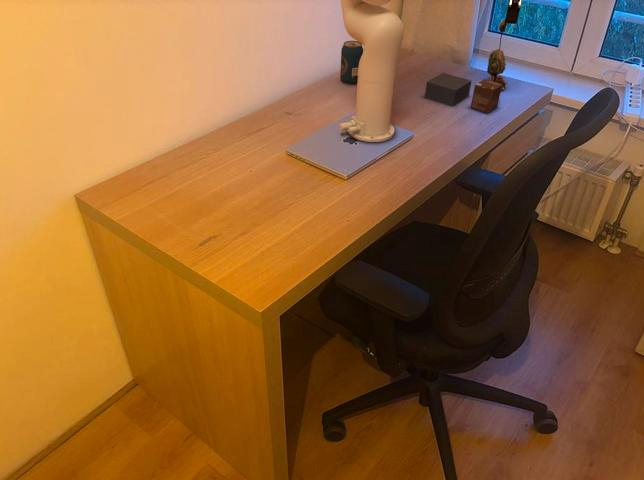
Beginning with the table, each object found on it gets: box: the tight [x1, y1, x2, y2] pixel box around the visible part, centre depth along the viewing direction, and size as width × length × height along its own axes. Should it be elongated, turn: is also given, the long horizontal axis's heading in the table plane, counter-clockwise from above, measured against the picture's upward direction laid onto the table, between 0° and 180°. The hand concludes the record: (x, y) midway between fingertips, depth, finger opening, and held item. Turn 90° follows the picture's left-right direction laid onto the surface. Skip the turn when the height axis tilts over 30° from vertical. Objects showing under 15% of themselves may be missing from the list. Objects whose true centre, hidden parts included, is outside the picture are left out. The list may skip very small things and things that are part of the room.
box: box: [470, 78, 502, 114], centre depth 159 cm, size 6×6×7 cm
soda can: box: [339, 40, 364, 86], centre depth 171 cm, size 7×7×12 cm
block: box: [424, 72, 472, 107], centre depth 165 cm, size 10×10×5 cm
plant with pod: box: [486, 18, 508, 91], centre depth 167 cm, size 8×11×20 cm
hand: (511, 18), depth 146 cm, fingers open, 9 cm apart
